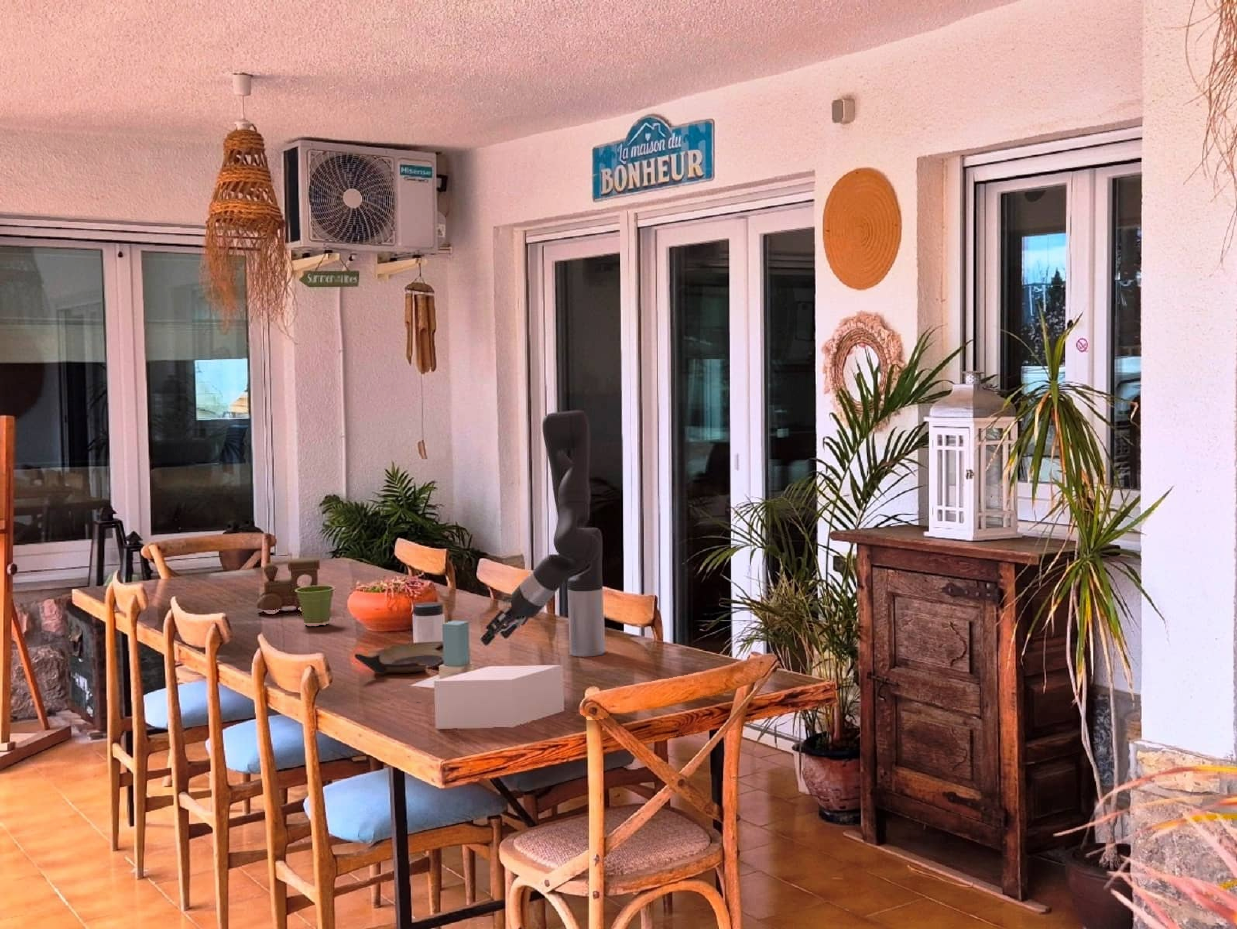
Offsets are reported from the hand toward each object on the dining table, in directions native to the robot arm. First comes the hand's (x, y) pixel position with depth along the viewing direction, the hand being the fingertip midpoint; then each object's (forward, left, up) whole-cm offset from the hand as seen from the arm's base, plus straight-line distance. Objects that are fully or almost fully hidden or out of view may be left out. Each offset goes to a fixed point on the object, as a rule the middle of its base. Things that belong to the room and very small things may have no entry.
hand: (493, 639), depth 309 cm
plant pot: (-52, -96, -12) cm, 110 cm away
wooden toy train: (-69, -121, -12) cm, 140 cm away
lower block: (0, -11, -11) cm, 15 cm away
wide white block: (+24, +16, -12) cm, 31 cm away
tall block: (0, -11, -7) cm, 13 cm away
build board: (0, -11, -12) cm, 16 cm away
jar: (-35, -43, -12) cm, 57 cm away
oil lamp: (-8, -32, -12) cm, 35 cm away
